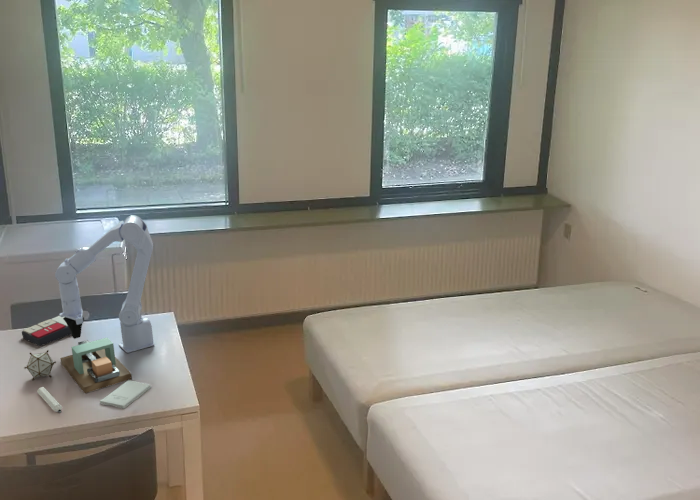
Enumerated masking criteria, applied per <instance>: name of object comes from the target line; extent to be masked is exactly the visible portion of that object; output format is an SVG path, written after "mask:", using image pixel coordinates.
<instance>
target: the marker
mask: <svg viewBox="0 0 700 500" xmlns="http://www.w3.org/2000/svg"><path fill="white" fill-rule="evenodd" d="M37 394H38V395H39V396H40V397H41V398H42V400H43V401H45V402H46V404H47V405H48V406H49V407H50V408H51V410H52V411H54V412H56V413H59V414H61V413H62V408H63V406H62V405H61V404H60V403H59V401H57V399H56V398H55V397H54V396H53V395H52V394H51V393H50V392H49V391H48V390H47V389H46V388H45V387H44V386H42V387H39V388H38V389H37Z"/></svg>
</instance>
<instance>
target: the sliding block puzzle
mask: <svg viewBox="0 0 700 500" xmlns="http://www.w3.org/2000/svg"><path fill="white" fill-rule="evenodd" d="M63 318H64V317H60V315H57V316H55V317H53V318H51V319H46V320H44V321H42V322H38V323H37V324H34V325H32V326H29V327H27V328H24V329H23V330H22V331H21V335H22V338H23V340H26V341H28V342H29V343H32V344H33V345H36V346H38V347H41V346H45V345H47V344H49V343H53V342H55V341H57V340H59V339H62V338H65V337H67V336H72V335H71V332H70V330H69V327H68V325H67V323H66V322H65V321H64V319H63Z"/></svg>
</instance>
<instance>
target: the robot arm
mask: <svg viewBox="0 0 700 500" xmlns="http://www.w3.org/2000/svg"><path fill="white" fill-rule="evenodd" d="M124 241H125V242H127V243H128V244H130V245H132V246H133V247H134V248H135V250H136V256H135V260H134V265H133V269H132V273H131V276H130V277H131V278H130V282H129V285H128V291H127V295H126V297H125V300H124V301H123V302H122V305H121V310H120V312H119V314H118V319H119V324H120V332H121V341H122V342H120V343H118V346H119V347H120V348H121V349H122V350H124V352H125V353H127V354H129V353H133V352H136V351H139V350H142V349H147V348H149V347H154V346H155V343H154V335H153V326H152V323H151V321H150V319H149V318H148V317H142V315H141V312H142V307H143V305H142V302H141V300H142V299H141V298H142V296H143V291H144V287H145V282H146V279H147V273H148V270H149V265H150V262H151V259H152V258H151V257H152V254H153V249H154V242H153V239H152V237H151V234H150V232H149V228H148V225H147V223H146V222H145V221H144V220H143V219H142V218H141V217H140V216H138V215H133V214H132V215H130V216H127V217H126V218H125V219H124V220H121V221H119V222H118V223H117V224H115V225H114V226H112V227H111V228H110V229H109V230H108V231H107V232H106V233H105V234H103V235H102V236H101V237H100V238H99V239H97V240H96V241H95V242H94V243H93V244H92V245H90V247H89V246H83V247H81V248H77V249H75V253H74V254H73V255H72V256H70V257H69V258H65V259H64V261H62V262H61V263H60V265H59V266H58V267H57V269H56V271H55V273H54V278H55V279H56V281H57V282H58V290H59V295H60V301H61V308H62V312H60V313H59V314H58V316H60V317H64V318H63V319H64V321H65V322H66V323H67V325H68V327H69V330H70V332H71V335H70V336H71V337H72V338H73V339H74V340H76V339H78V338H81V337H82V336H81V334H82V326H83V324H84V321H85V317H84V316H83V315H84V309H83V307H82V302H81V301H82V300H81V296H80V295H81V294H80V288H79V283H78V278H77V275H79V274H81V273H82V272H83V271H85V270H86V269H87V268H89V267H90V265H92V264H94V263H95V262H96V259H97V255H99V254H100V253H101V252H103V251H104V250H105V249H107V248H108V247H109V246H110V245H111V244H113V243H114V242H120V243H122V242H124Z"/></svg>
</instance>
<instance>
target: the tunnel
mask: <svg viewBox="0 0 700 500" xmlns="http://www.w3.org/2000/svg"><path fill="white" fill-rule="evenodd" d="M103 349H105V355H106V357H107V358H108V359H109V360H110V361H111V362H112V363H113V364H116V361H115V357H116V354H115V347H114V342H113V341H112V340H111V339H110V338H109V337H103V338H100V339H96V340H93V341H89V342H88V343H85V344H81V345H78V344H77V345H74V346H71V355H73V361H74V368H75V369H76V370H77V371H78V373H79V374H83V373H84V370H83V363H82V356H81V355H85V354H88V353H92V352H95V351H99V350H103Z"/></svg>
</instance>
